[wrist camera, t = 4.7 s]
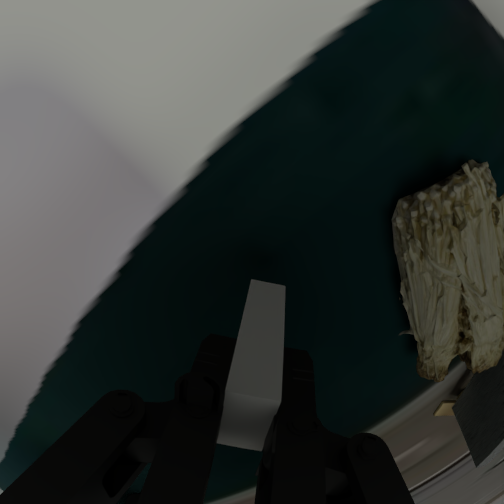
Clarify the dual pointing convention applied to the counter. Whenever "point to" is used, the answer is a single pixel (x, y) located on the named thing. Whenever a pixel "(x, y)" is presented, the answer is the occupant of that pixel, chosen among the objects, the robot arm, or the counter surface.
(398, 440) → the counter surface
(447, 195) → the mushroom
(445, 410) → the base
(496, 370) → the plate
